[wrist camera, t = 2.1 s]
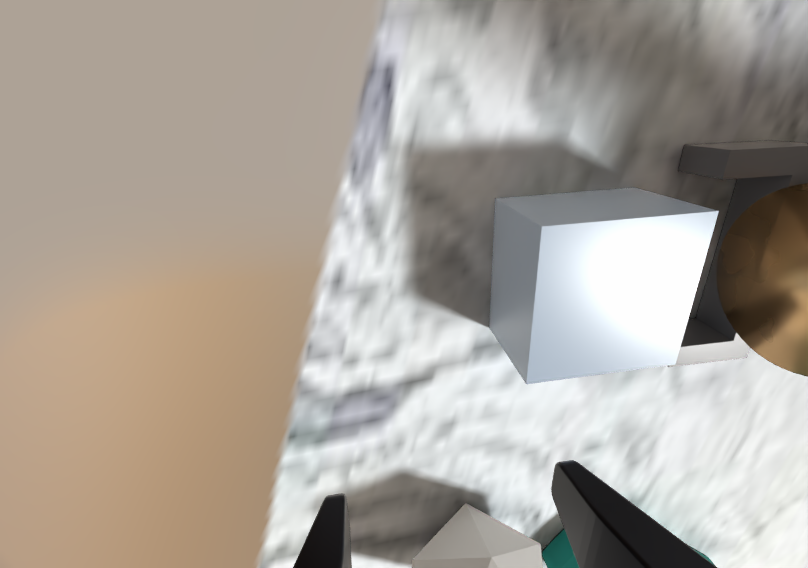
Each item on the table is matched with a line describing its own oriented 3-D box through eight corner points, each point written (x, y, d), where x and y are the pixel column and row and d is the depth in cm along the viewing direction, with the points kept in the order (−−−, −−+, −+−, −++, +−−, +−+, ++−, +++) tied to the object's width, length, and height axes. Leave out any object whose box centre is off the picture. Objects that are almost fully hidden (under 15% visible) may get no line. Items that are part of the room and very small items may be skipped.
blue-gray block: (650, 185, 20) (742, 208, 15) (625, 310, 23) (695, 361, 18) (494, 197, 19) (541, 226, 14) (488, 326, 22) (526, 384, 17)
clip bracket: (771, 140, 19) (827, 144, 17) (708, 333, 24) (746, 357, 22) (684, 144, 19) (730, 150, 17) (637, 341, 23) (668, 367, 21)
